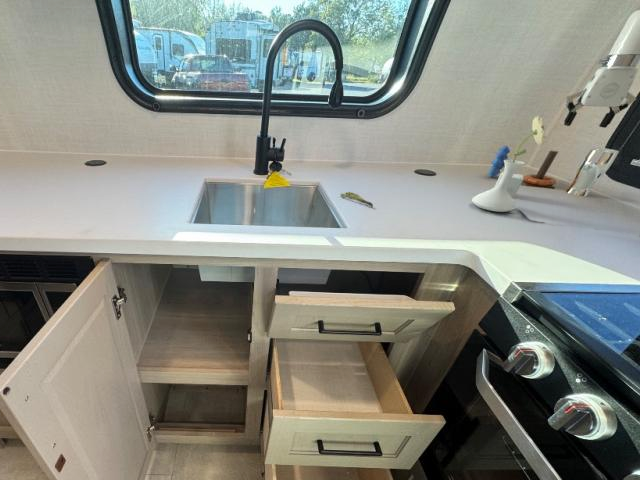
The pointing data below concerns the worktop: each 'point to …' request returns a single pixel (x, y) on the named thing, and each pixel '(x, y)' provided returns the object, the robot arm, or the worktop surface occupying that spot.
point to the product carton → (512, 183)
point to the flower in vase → (508, 177)
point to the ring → (539, 180)
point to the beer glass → (591, 170)
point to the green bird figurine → (356, 198)
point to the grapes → (499, 161)
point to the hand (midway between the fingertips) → (584, 126)
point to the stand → (543, 170)
